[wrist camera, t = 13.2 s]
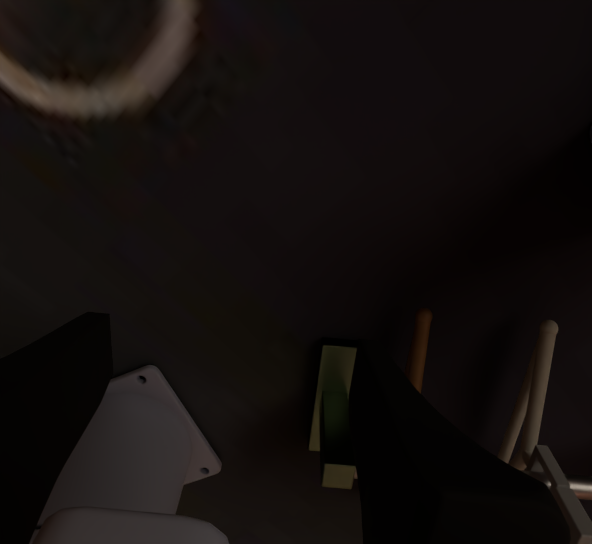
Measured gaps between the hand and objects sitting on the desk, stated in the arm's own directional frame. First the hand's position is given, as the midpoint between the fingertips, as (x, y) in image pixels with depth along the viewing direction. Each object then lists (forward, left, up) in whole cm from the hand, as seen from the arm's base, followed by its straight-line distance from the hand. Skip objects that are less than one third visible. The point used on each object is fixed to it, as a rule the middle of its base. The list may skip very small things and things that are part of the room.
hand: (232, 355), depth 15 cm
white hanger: (+8, -15, -10) cm, 20 cm away
